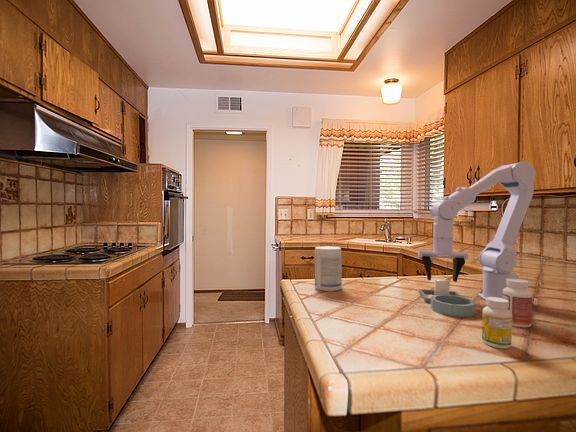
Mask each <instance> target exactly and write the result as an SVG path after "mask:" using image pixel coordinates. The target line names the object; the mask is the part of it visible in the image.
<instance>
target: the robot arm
mask: <svg viewBox="0 0 576 432" xmlns="http://www.w3.org/2000/svg"><path fill="white" fill-rule="evenodd" d="M536 175H537V171H536V170H535V168H534V166H533V165H532V164H531V163H530V162H528V161H523V160H522V161H519V162H515V163H510V164H503V165H500V166H498V167H497V168H495V169H492V170H491V171H490V172H489V173H487V174H486V175H485V176H483V177H481V178H480V179H479V180H478V181H475V182H474V183H473V184H471V186H469V187H467V186H462V187H460V186H459V187H457V188H455V192H453V193H451V194H450V195H447V196H446V195H445V196H444V197H443V200H441V201H437V202H435V203H434V204H433V205H432V207H431V209H430V214H431V216H432V218H433V233H432V234H433V236H432V237H433V241H432V250H417V256H418V258H420V259H421V261H422V264H423V266H424V268H425V269H424V270H425V272H426V278H427V280H428V281H431V280H432V262H433V260H432V259H431V258H434V259H436V258H437V259H452V282H454V283H456V282H457V281H458V278H459V275H460V273H461V270H462V268H463V267H464V266H465V263H466V260H469V253H468V252H463V251H462V252H461V251H459V252H458V251H453V250H454V249H453V248H454V218H456V217H457V215H458V213H459V212H460V211H462V210H463V209H465V208H466V207H468V206H469V205H470V204H472V203H474V202H475V201H476V198H477V196H478V195H479V194H481V193H483V192H484V191H486V190H488V189H489V188H492V187H493V186H495V185H497V184H498V183H499V184H500V185H501V187H503V188H504V189H505V190H507V192H509V195H510V197H509V200H508V202H507V205H506V206H505V210H504V213H503V215H502V218H501V220H500V222H499V225H498V227H497V231H496V233H495V234H494V238H493V239H492V240H491V241H490V242H488V243H487V244H486V245H485V247H484V249H483V250H482V251H481V252H480V253H479V255H478V262H479V264H480V265H481V267H482V292H481V293H477V295H478V296H479V297H481V298H482V299H483V300H485V301H486V299H487V297H498V298H502V292H503V289H504V288H505V287H507V285H506V279H520V278H519V275H518V273H516V272H513V270H514V269H515V267H516V265H517V264H516V263H517V261H516V260H517V259H516V256H517V254H518V252H517V249H516V248H515V247H514V244H515V241H516V239H517V236H518V234H519V232H520V229H521V226H522V224H523V221H524V219H525V216H526V214H527V211H528V209H529V207H530V205H531V204H530V203H531V201H532V199H533V197H534V192H535V191H534V180H535V178H536Z"/></svg>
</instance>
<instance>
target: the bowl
mask: <svg viewBox="0 0 576 432" xmlns="http://www.w3.org/2000/svg"><path fill="white" fill-rule="evenodd" d="M430 298H431V303H430V307H429V308H430V309H431V310H432V311H434V312H436V313H439V314H440V315H445V316H450V317H460V318H466V317H467V318H469V317H473V316H475V315H476V307H477V306H476V302H475V301H474V300H473V299H470V298H467V297H465V296H463V297H460V296H455V295H434V294H433V295H432V296H430Z"/></svg>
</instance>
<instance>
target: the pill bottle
mask: <svg viewBox="0 0 576 432" xmlns="http://www.w3.org/2000/svg"><path fill="white" fill-rule="evenodd" d="M506 285H507V287H505V288H504V289H503V292H502V298H503V299H506V300H508V301H509V307H508V308H507V309H508V310H509V311H510V312H511V313H512V327H516V328H530V327H532V325H533V293H532V291H531V290H529V289H528V288H529V287H530V282H529V280H526V279H521V278H519V279H506Z"/></svg>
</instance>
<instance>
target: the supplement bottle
mask: <svg viewBox="0 0 576 432" xmlns="http://www.w3.org/2000/svg"><path fill="white" fill-rule="evenodd" d="M485 302H486V305H487V306H485V307H483V308H482V315H481V316H482V319H481V320H482V321H481V324H482V327H481V341H482V343H484V344H485V345H487V346H490V347H492V348H495V349H505V350H506V349H510V348H511V347H512V343H513V342H512V341H513V339H512V338H513V337H512V336H513V334H512V333H513V326H512V313H511V312H510V311H509V310H508V309H507V308H508V307H509V301H508V300H506V299H503V298H498V297H487V299H486V300H485Z"/></svg>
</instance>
